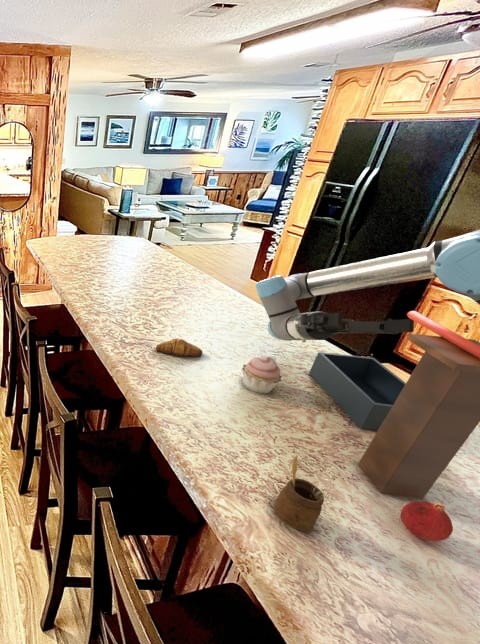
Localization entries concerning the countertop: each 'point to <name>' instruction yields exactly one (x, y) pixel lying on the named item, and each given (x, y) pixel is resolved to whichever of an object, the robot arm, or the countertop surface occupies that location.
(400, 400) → the stand
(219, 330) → the countertop surface
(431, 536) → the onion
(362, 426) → the bin
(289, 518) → the utensil holder
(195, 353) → the croissant
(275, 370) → the cupcake
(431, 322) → the red long rounded rod
